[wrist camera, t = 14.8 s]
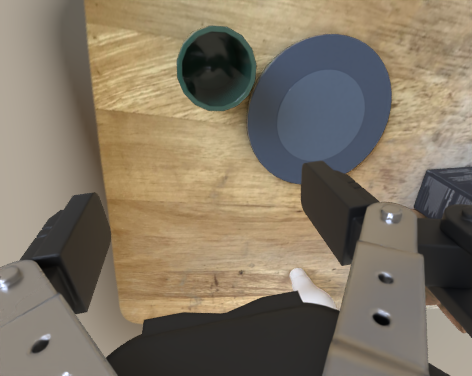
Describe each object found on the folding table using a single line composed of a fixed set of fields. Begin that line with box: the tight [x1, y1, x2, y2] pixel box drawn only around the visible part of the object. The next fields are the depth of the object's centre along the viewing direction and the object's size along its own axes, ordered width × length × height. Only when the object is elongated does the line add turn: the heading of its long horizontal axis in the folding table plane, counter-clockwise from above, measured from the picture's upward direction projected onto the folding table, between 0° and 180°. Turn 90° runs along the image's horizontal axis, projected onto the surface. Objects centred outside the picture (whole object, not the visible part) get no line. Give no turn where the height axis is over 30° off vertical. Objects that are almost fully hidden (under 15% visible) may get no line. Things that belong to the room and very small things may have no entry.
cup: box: [177, 26, 256, 111], centre depth 28 cm, size 6×6×9 cm
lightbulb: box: [290, 268, 337, 310], centre depth 43 cm, size 6×6×11 cm
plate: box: [247, 34, 392, 184], centre depth 36 cm, size 18×18×1 cm
